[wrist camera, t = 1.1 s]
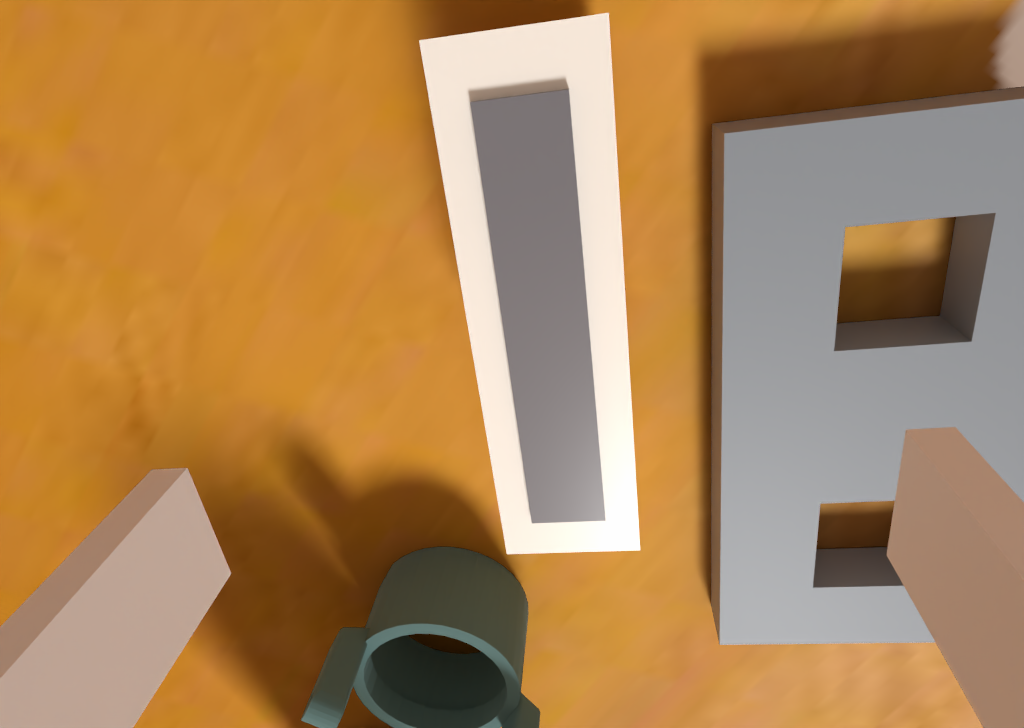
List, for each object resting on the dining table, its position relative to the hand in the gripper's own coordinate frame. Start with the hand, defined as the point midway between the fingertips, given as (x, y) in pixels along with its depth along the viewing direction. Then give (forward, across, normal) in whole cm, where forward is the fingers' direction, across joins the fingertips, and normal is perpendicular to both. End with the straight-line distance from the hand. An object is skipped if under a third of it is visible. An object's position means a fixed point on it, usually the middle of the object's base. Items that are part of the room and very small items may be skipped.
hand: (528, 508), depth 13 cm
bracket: (+17, -8, -20) cm, 27 cm away
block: (+16, 0, 0) cm, 16 cm away
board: (+16, +12, -8) cm, 22 cm away
